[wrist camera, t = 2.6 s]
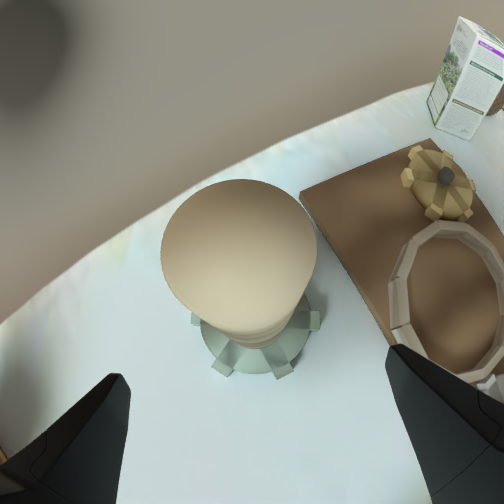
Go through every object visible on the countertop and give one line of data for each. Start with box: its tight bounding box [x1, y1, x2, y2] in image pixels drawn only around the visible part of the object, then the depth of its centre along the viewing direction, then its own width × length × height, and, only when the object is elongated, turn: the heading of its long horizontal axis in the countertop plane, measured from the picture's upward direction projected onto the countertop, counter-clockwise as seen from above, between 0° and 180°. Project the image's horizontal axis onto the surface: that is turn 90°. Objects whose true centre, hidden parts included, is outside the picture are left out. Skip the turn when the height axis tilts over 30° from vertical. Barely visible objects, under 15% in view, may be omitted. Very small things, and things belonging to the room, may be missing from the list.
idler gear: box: [161, 179, 320, 380], centre depth 13 cm, size 8×8×13 cm
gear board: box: [299, 138, 504, 403], centre depth 17 cm, size 30×17×3 cm, turn 27°
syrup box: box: [427, 16, 504, 141], centre depth 20 cm, size 6×6×14 cm
